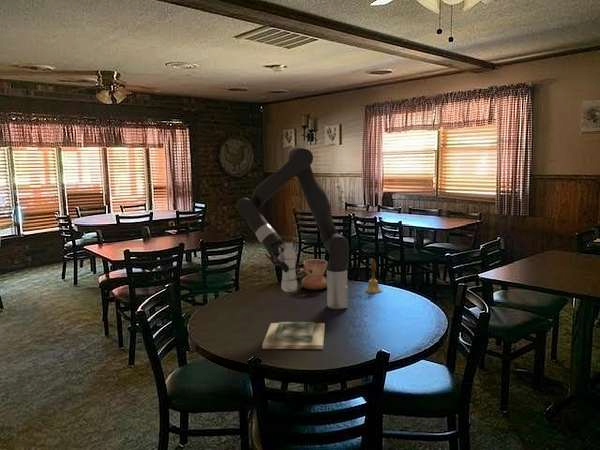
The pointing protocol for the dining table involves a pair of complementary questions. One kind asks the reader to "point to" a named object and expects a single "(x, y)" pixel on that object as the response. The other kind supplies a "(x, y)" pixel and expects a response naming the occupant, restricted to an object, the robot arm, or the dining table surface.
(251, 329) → the dining table surface
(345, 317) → the dining table surface
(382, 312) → the dining table surface
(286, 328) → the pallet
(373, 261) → the hand bell
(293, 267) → the plastic bottle
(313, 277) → the ceramic jug
